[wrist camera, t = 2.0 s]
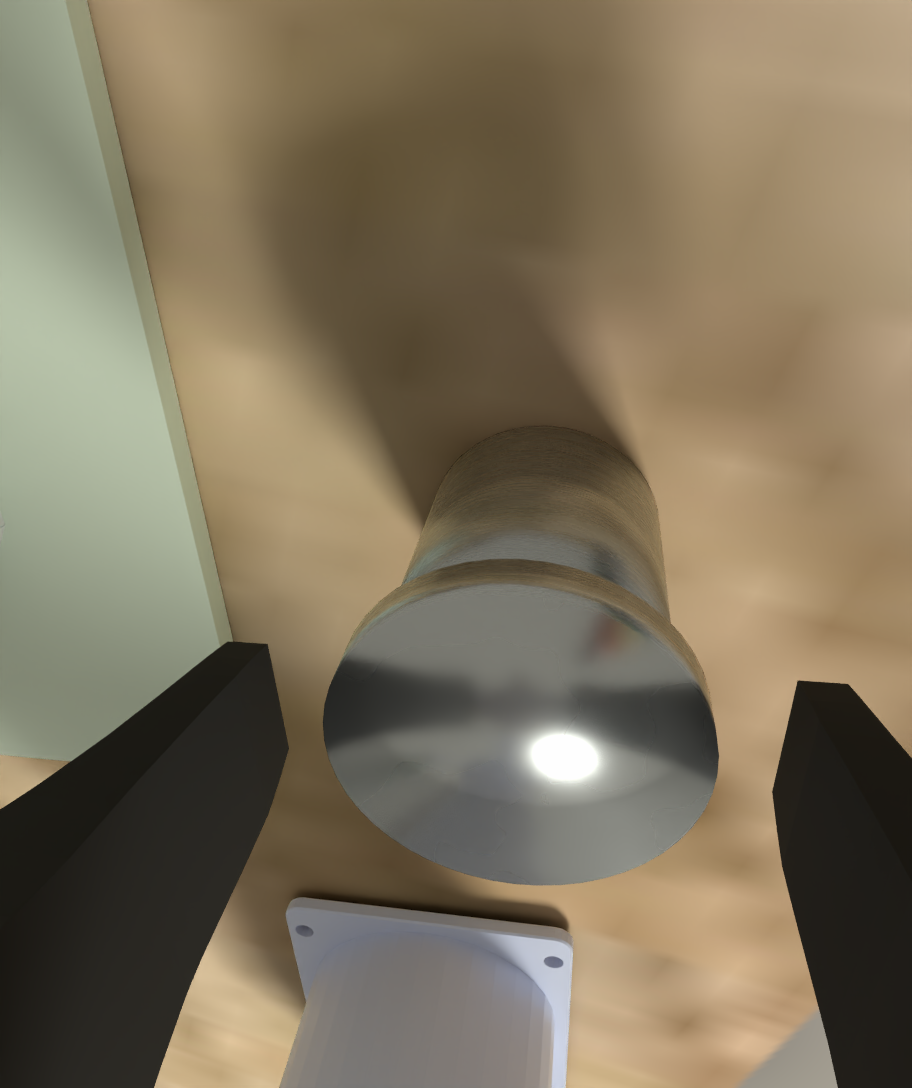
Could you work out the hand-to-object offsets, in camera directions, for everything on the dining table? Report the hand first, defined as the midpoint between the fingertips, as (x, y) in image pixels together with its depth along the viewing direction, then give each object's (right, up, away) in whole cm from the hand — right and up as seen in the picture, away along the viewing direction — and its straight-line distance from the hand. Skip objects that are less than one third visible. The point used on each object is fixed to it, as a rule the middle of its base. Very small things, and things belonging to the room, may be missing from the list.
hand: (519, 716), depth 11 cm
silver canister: (+1, +3, +5) cm, 5 cm away
